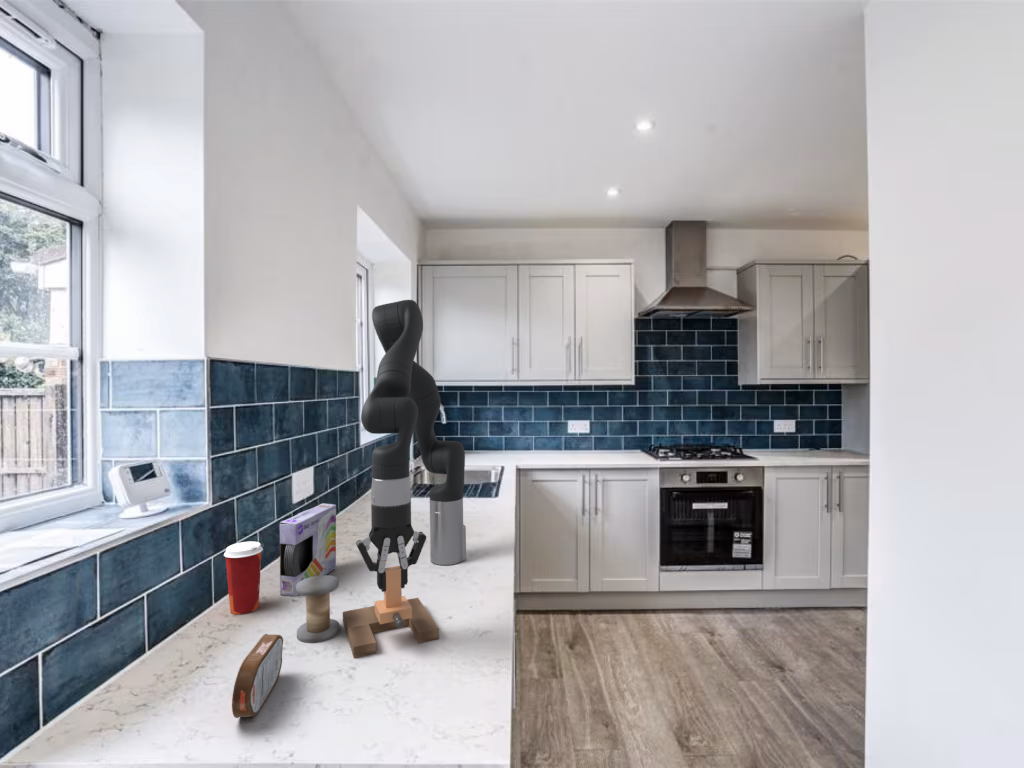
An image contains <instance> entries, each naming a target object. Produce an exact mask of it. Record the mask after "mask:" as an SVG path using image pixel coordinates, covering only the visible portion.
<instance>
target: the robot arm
mask: <svg viewBox="0 0 1024 768" xmlns="http://www.w3.org/2000/svg"><path fill="white" fill-rule="evenodd" d="M371 312H372V313H371V319H372V324H373V327H374V331H375V333H376V336H377V337H378V340H379V342H380V344H381V347H382V350H383V351H384V353H385V354H384V355H383V356H382V358H381V360H380V362H379V364H378V368H377V373H376V375H377V376H376V379H375V381H376V382H375V385H374V386H373V389H372V390H371V392H370V393H369V394H368V396H367V397H366V399H365V402H364V404H363V406H362V410H361V414H360V416H361V417H360V418H361V419H360V421H361V425H362V426H363V428H364V430H365V431H367V432H368V433H370V434H375V435H382V434H384V435H387V434H398V435H399V436H398V438H397V440H396V441H395V442H392V443H390V444H386V445H385V444H383V445H381V446H377V447H375V448H374V449H373V451H372V453H371V470H372V471H371V475H372V476H371V489H370V497H371V498H370V502H371V503H370V504H371V506H370V507H371V508H370V509H371V510H370V511H371V528H370V531H369V533H368V536H367V537H365V538H364V539H361V540H360V539H359V540H356V542H355V546H356V548H357V549H358V551H359V553H360V556H361V557H362V559H363V561H364V563H365V565H366V567H367V568H368V570H369V572H376V585H377V587H378V589H379V590H380V591H381V592H382V593H384V592H385V591H386V573H385V568H386V564H387V560H388V556H389V555H391V554H393V553H396V554H397V558H398V564H399V566H400V568H401V589H405V588H406V585H408V583H409V582H408V581H409V579H408V578H409V577H408V576H409V575H408V571H409V567H410V566H412V565H416V564H417V563H418V561H419V558H420V555H421V552H423V551H422V550H423V548H424V546H425V543H426V541H427V536H426V534H425V533H424V531H423V532H422V531H416V530H414V528H413V526H412V489H411V481H410V449H411V444H412V439H413V435H414V433H415V437H416V441H417V444H418V449H419V452H420V457H421V460H422V463H423V466H424V468H425V469H426V471H428V472H429V473H431V474H435V475H436V474H439V475H440V474H441V475H446V478H445V479H446V480H445V482H443V483H440V484H438V485H434V486H433V487H431V488H430V489H429V534H430V535H429V540H430V541H429V542H430V543H429V544H430V545H429V546H430V553H429V555H430V556H429V557H430V562H431V563H432V564H435V565H439V566H449V565H455V564H459V563H461V562H464V561H467V534H466V533H467V528H466V525H465V524H464V490H465V489H464V488H465V469H466V468H465V467H466V451H465V447H464V445H463V444H462V442H460V441H458V440H439V439H438V438H437V437H436V433H435V430H434V429H435V423H436V421H437V417H438V415H439V412H440V409H441V405H442V399H441V395H440V393H439V389H438V386H437V384H436V383H437V382H436V381H435V379H434V377H433V376H432V374H431V373H429V372H428V370H427V369H425V367H422V365H420V364H419V363H417V362H416V361H415V357H416V354H417V351H418V349H419V347H420V342H421V338H422V335H423V331H424V319H423V315H422V311H421V309H420V307H419V304H418V303H417V302H416V301H415V300H413V299H404V300H398V301H394V302H390V303H385V304H384V303H383V304H381V305H377V306H375V307H374V308H373V309H372V311H371ZM411 539H412V542H413V544H412V547H411V550H410V552H409V554H408V556H407V550H406V547H407V546H408V544H409V542H410V541H411ZM371 543H372V544H373V545H374V546H375V548H376V549H377V553H376V554H377V555H376V556H377V559H376V562H374V561H373V560H372V558H371V556H370V554H369V550H370V549H371V546H370V545H371Z"/></svg>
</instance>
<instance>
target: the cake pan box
mask: <svg viewBox="0 0 1024 768" xmlns="http://www.w3.org/2000/svg"><path fill="white" fill-rule="evenodd" d="M336 568H337V505H336V504H333V503H320V504H318V505H316V506H314V507H312V508H310V509H306V510H303V511H302V512H299V513H297V514H296V515H294V516H291V517H289V518H287V519H285V520H281V521H280V522H279V585H280V586H279V587H280V588H279V595H280V596H288V597H298V596H299V594H297V592H296V585H297V583H298V582H300V581H301V580H304V579H306V578H310V577H314V576H321V575H328V574H330V572H332V571H334V570H335V569H336Z"/></svg>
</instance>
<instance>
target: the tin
mask: <svg viewBox="0 0 1024 768" xmlns="http://www.w3.org/2000/svg"><path fill="white" fill-rule="evenodd" d="M283 645H284V638H283V636H282V635H281V634H268V633H265V634H263V635H262V636H261V637H260V639H259V640H258V641H257V642H256V644H255V645H254V646H253V648H252V649H251V650H250V651H249V653H248V654H247V655H246V656H245V658H244V659H243V661H242V662H241V664H240V666H239V669H238V672H237V675H236V677H235V682H234V685H233V691H232V698H231V710H232V711H231V712H232V715H233V717H234V718H235V719H238V718H253V717H255V716H256V715H257V714H258V713H259V712H260V711H261V709H262V708H263V705H264V703H265V702H266V701H267V699H268V697H269V695H270V694H271V692H272V691H273V689H274V688H275V686H276V685H277V682H278V680H279V676H280V673H281V670H282V665H283Z"/></svg>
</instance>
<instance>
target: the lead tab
mask: <svg viewBox="0 0 1024 768" xmlns="http://www.w3.org/2000/svg"><path fill="white" fill-rule="evenodd" d="M385 573H386V591H385V592H383V599H380V600H376V601H373V602H374V605H373V606H374V612H375V614H376V616H377V618H378V621H379V623H380V624H385V623H390V622H395V624H396V626H397V627H398V628H397V629H402V628H403V625H404V621H403V620H404V619H409V618H412V607H411V605H410V604H409V602H408V601H407V600H408V599H407V597H406V596H405V595H402V588H401V568H400V565H396V566H388V567H385Z"/></svg>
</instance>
